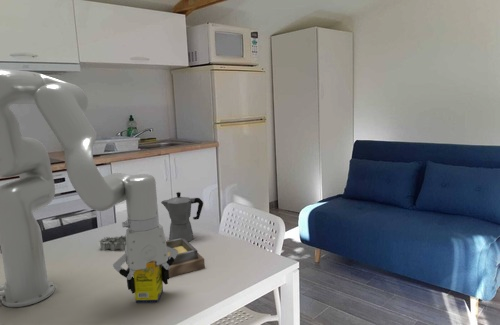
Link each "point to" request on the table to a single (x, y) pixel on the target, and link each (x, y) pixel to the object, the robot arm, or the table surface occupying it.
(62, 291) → the table surface
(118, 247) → the egg carton
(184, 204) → the coffeepot
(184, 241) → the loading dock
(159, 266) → the supplement box
